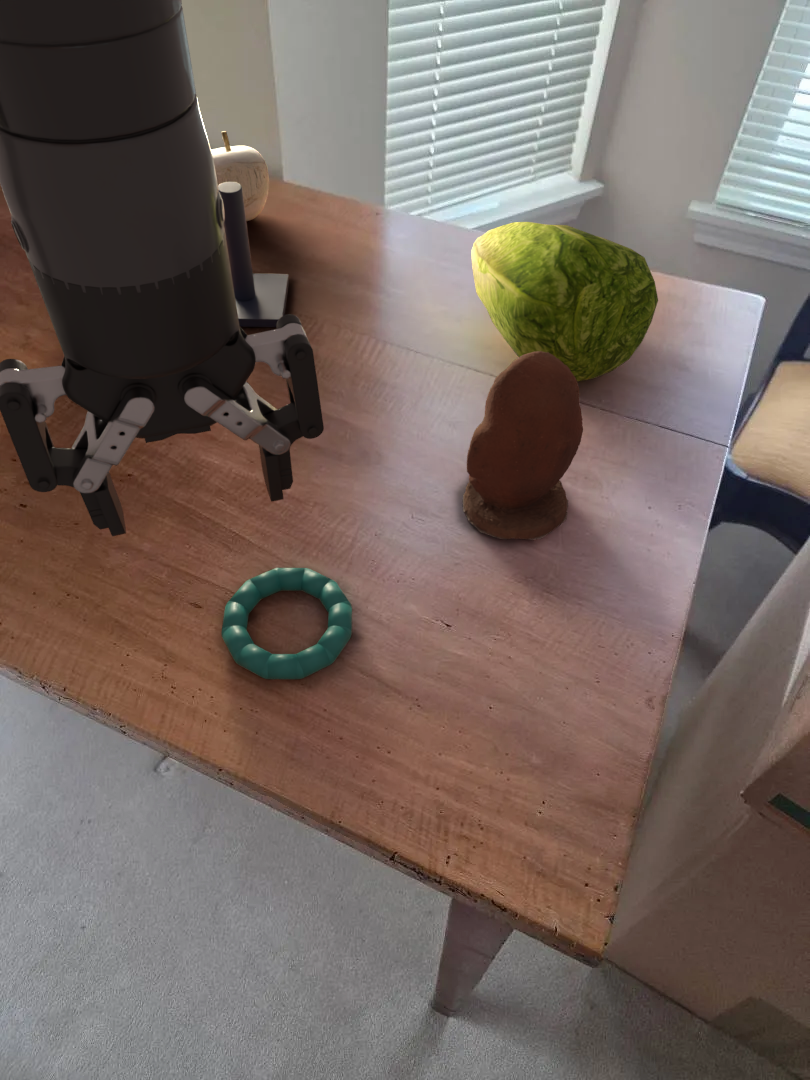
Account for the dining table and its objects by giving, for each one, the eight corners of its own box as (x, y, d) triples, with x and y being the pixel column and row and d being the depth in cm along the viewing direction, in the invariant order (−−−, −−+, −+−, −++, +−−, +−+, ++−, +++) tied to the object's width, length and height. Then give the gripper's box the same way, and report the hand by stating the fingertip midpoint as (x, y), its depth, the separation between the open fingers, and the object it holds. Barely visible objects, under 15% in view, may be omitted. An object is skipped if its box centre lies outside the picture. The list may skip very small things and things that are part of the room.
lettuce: (558, 207, 87) (462, 156, 78) (705, 289, 71) (606, 237, 62) (499, 320, 94) (404, 285, 85) (621, 419, 77) (520, 389, 68)
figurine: (582, 483, 68) (626, 344, 57) (549, 561, 62) (591, 424, 51) (487, 451, 70) (510, 312, 59) (447, 524, 64) (464, 385, 53)
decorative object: (242, 242, 92) (231, 159, 84) (188, 221, 95) (173, 138, 87) (287, 214, 97) (280, 132, 89) (234, 194, 100) (223, 114, 92)
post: (199, 325, 81) (175, 208, 71) (210, 279, 87) (190, 165, 77) (282, 327, 81) (271, 210, 71) (289, 281, 87) (279, 167, 77)
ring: (216, 683, 54) (212, 671, 52) (232, 576, 60) (229, 562, 58) (350, 683, 54) (350, 671, 53) (353, 577, 60) (353, 563, 59)
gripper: (283, 164, 33) (306, 437, 45) (-72, 203, 30) (58, 486, 42) (328, 251, 29) (339, 527, 41) (-83, 308, 25) (66, 590, 38)
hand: (197, 506), depth 42 cm, fingers open, 8 cm apart
